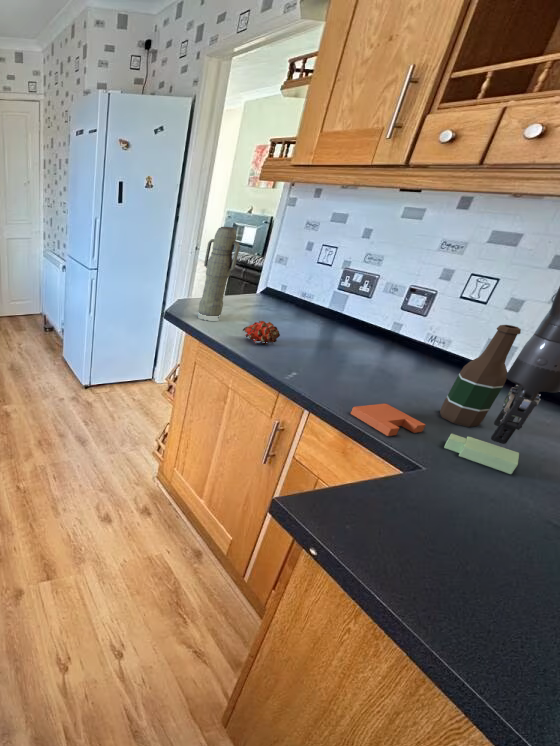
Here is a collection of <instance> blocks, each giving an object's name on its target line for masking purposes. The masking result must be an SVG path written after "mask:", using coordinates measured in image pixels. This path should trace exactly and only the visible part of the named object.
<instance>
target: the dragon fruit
mask: <svg viewBox="0 0 560 746" xmlns="http://www.w3.org/2000/svg"><path fill="white" fill-rule="evenodd" d="M242 332H244V333H245V334H244V337H245V336H246V337H245V338H247V337H248V336H249V338H250V339H249V340H251V342H254V344H256V345H258V344H259V343H256V342H255V341H261V342H260V343H261V344H262V345H268V343H270V344H271V343H273V342H274V343H276V342H277V341H278V340H277V339H279V338H280V337H281V334H280V331H279V329H278V327H277V326H275V325H274V324H273V323H272V322H271V321H268V322H266V321H264V320H258V322H257V321H256V322H254V323H253V324H250V325H248V326H245V327H244V328H243V329H242ZM253 339H255V340H253ZM262 342H265V343H262ZM266 342H268V343H266Z"/></svg>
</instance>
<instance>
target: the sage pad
mask: <svg viewBox="0 0 560 746" xmlns="http://www.w3.org/2000/svg"><path fill="white" fill-rule="evenodd" d="M443 448H444V449H446V450H449V451H452V452H454V453H458V457H460V458H463V459H466V460H469V461H472V462H473V463H476V464H477V463H478V464H480V465H483V466H486V467H488V468H492V469H494V470H498V471H500V472H503V473H506V474H509V475H512V474H513V473H514V471H515V470H516V468H518V466H519V460H520V459H519V457H520V452H518V451H515V450H511V449H508V448H505V447H502V446H499V445H496V444H493V443H490V442H486V441H484V440H481V439H478V438H475V437H472V436H470V435H469V436H468V435H467V437H463V436H461V435H457V434H454V433H450V435H449V437H448V438H447V440H446V442H445V444H444V447H443Z"/></svg>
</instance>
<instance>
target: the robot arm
mask: <svg viewBox="0 0 560 746" xmlns="http://www.w3.org/2000/svg"><path fill="white" fill-rule="evenodd" d="M506 377H507V379H506V380H508V381H510V382H511V383H513V384H515V385H514V387H513V386H512V387H511V388H510V389H509V391H508V394H507V395H506V396H505V398H504V400H503V404H502V409H501V410H500V412H499V413H498V415H497V417H496V418H495V420H494V422H493V425H494V426H496V429H495V430H494V432H493V433H492V435H491V437H490V440H491V441H493V442H496V443H498V444H502V445H505V444H507V443H508V442H509V440H510V439H511V437H512V436H513V434H514V433H515V431H516V430H518V431H520V430H521V429H522V428H523V425H524V424H525V422H526V421H527V419H528V418H530V416H531V414H532V412H533V410H534V409H535V408H536V407H537V406H538V405H539V403H540V401H541V398H540V397H541V393H543V392H545V393H549V394H550V393H560V285H559V287H558V288H557V291H556V293H555V296H554V298H553V301H552V304H551V307H550V308H549V311H547V313H546V314H545V316H544V317H543V319H541V322H540V323H539V325H538V327H537V328H536V330H535V331H534V333H533V335H532V336H531V337H530V338H529V339H528V341H527V342H526V343H525V344H524V346H523V347H522V349H521V350H520V352H519V354H518V355H517V357H516V358H515V360H514V362H513V363H512V364H511V366H510V368H509V369H508V370H507V374H506ZM516 418H517V420H516V421H514V420H515V419H516Z"/></svg>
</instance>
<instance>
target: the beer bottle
mask: <svg viewBox="0 0 560 746" xmlns="http://www.w3.org/2000/svg"><path fill="white" fill-rule="evenodd" d="M496 330H497V331H496V332H495V333H494V335H493V337H492V338H491V339H490V341H489V343H488V344H487V346H486V348H484V350H483V351H482V353H481V354H480V355H479V356H478V357H476V358H474V359H472V360H470V361H469V362H467V363H466V364H465V365H464V366H463V367H462V368H461V370H460V371H459V373H458V375H457V377H456V379H455V381H454V382H453V384H452V386H451V388H450V390H449V392H448V394H447V396H446V397H445V399H444V401H443V403H442V405H441V407H440V410H439V414H440V417H441V418H443V419H444V420H446V421H448V422H450V423H452V424H455V425H459V426H462V427H463V426H464V427H467V428H473V427H478V426H480V425H481V423H482V422H484V421H483V420H484V419H485V418H486V416H487V414H488V413H489V411H490V409H491V408H492V406H493V404H494V403H495V401H496V399H497V398H498V396H499V394H500V393H501V391H502V389H503V387H504V386H505V383H506V382H507V380H508V379H507V377H506V374H507V373H508V370H507V367H506V361H507V357H508V355H509V353H510V351H511V349H512V346H513V345H514V342H515V340H516V338H517V336H518V335H520V334H521V332H522V329H521V328H520V327H518V326H515V325H510V324H500V325H498V326H497V327H496Z"/></svg>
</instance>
